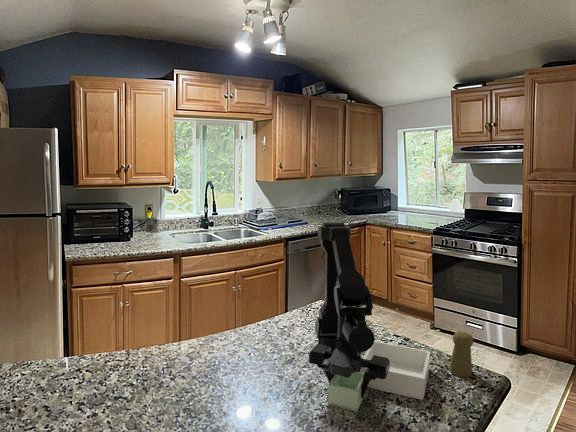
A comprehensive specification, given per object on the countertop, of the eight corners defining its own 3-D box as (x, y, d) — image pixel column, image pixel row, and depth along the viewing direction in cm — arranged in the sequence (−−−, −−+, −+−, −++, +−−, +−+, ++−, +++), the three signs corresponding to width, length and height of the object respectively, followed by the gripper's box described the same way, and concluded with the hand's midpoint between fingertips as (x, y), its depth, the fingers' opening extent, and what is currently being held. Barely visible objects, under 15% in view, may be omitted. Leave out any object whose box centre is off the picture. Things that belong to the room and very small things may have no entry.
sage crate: (327, 404, 100) (328, 384, 99) (338, 385, 108) (339, 367, 107) (356, 411, 97) (357, 391, 96) (365, 392, 105) (366, 373, 104)
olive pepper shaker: (474, 378, 113) (477, 339, 111) (450, 375, 114) (453, 337, 112) (469, 367, 118) (472, 330, 117) (447, 364, 120) (449, 328, 118)
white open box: (358, 385, 108) (359, 365, 108) (371, 358, 123) (372, 340, 122) (423, 400, 102) (424, 378, 101) (429, 370, 117) (430, 351, 116)
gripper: (300, 338, 96) (299, 401, 98) (382, 354, 89) (379, 422, 91) (317, 321, 106) (315, 378, 109) (391, 334, 99) (388, 396, 101)
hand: (347, 393), depth 102 cm, fingers closed on sage crate, 7 cm apart
